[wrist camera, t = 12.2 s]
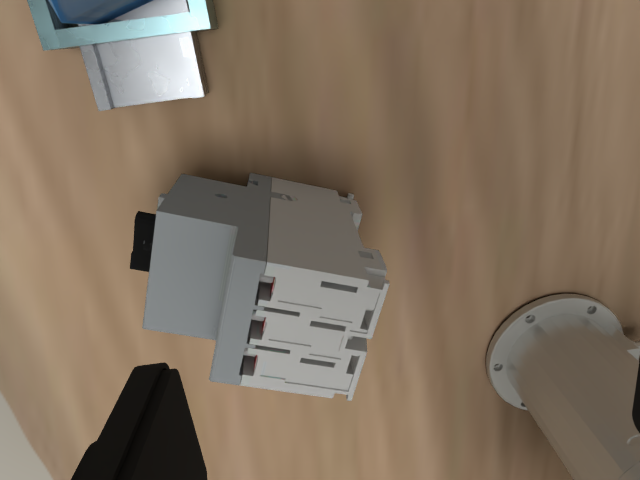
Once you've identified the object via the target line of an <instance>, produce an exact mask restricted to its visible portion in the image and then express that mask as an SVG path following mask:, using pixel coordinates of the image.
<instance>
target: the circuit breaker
mask: <svg viewBox="0 0 640 480" xmlns="http://www.w3.org/2000/svg"><path fill="white" fill-rule="evenodd" d="M271 179H272V180H271ZM353 198H354V194H350V193H348V195H347V198H346V197H342V196H339V195H338V192H337V191H336V190H331V189H326V188H322V187H317V186H312V185H307V184H302V183H298V182H293V181H288V180H283V179H279V178H274V177H269V176H264V175H259V174H254V173H250V176H249V180H248V185H247V186H246V187H245V186H240V185H235V184H230V183H226V182H221V181H216V180H211V179H206V178H201V177H196V176H191V175H186V174H181V176H180V177H179V179H178V180H177V181H176V183H175V184H174V186H173V187H172V189H171V190H170V191H169V193H168V194H163V193H161V195H160V196H159V199H158V208H157V212H156V214H150V213H145V212H140V211H138V213H137V214H136V217H135V226H134V243H133V252H132V253H131V263H130V269H135V270H141V271H147V272H149V278H148V286H147V295H146V303H145V311H144V319H143V329H147V330H154V331H160V332H167V333H173V334H179V335H186V336H192V337H199V338H205V339H212V340H216V346H215V351H214V356H213V362H212V367H211V372H210V378H209V380H210V381H212V382H219V383H226V384H233V385H240V386H248V387H255V388H262V389H269V390H276V391H284V392H291V393H298V394H305V395H312V396H320V397H327V398H333V396H334V393H339V394H346V395H347V400H348V401H351V400H352V397H353V394H354V391H355V388H356V385H357V382H358V379H359V376H360V373H361V370H362V366H363V363H364V360H365V357H366V354H367V342H366V338H368V339H372V336H373V333H374V330H375V327H376V324H377V321H378V318H379V315H380V311H381V308H382V305H383V302H384V299H385V296H386V293H387V290H388V287H389V281H387V280H385V276H386V272H387V268H386V265H385V263H384V261H383V259H382V256H381V254H380V252H379V250H374V249H368V248H364V247H363V244H362V242H361V239H360V237H359V234H358V228H359V224H360V221H361V217H362V212H361V210H360V208H359V205H358V203H357V201H356V200H353ZM240 381H241V383H240Z"/></svg>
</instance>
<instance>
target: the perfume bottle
mask: <svg viewBox="0 0 640 480" xmlns="http://www.w3.org/2000/svg"><path fill="white" fill-rule="evenodd" d="M48 1H49V2H50V4H51V6H52V7H53V9H54V11H55V13H56V14H57V16H58V18H59V20H60V21H61V23H74V24H104V23H106V22H108V21H111V20H113V19H115V18H117V17H119V16H121V15H123V14H125V13H127V12H130V11H132V10H134V9H136V8H138V7H140V6H142V5H144V4H146V3H149V2H151V1H153V0H48Z"/></svg>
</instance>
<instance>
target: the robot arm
mask: <svg viewBox="0 0 640 480" xmlns="http://www.w3.org/2000/svg"><path fill="white" fill-rule="evenodd" d="M639 356H640V341H637V342H634V341H633V340H630V339H628V338H627V337H626V336H625V335H624V334H623V330H622V326H621V324H620V322H619V321H618V319H617V317H616V316H615V315H614V314H613V313H612V312H611V311H610V310H609V309H608V308H607V307H605V306H604V305H603V304H602V303H600V302H599V301H597V300H595V299H593V298H590V297H588V296H583V295H579V294H558V295H551V296H548V297H544V298H541V299H538V300H536V301H534V302H532V303H529V304H527V305H525V306H524V307H522V308H521V309H519V310H518V311H516V312H515V313H513V314H512V315H511V316H510V317H509V318H508V319H507V320H506V321H505V322H504V323H503V324H502V325H501V327H500V328H499V329H498V330H497V332H496V333H495V335H494V337H493V339H492V341H491V343H490V345H489V348H488V352H487V356H486V369H487V375H488V378H489V380H490V382H491V384H492V386H493V387H494V389H495V391H496V392H497V394H498V395H499V396H500V397H501V398H502V399H503V400H504V401H506V402H507V403H509V404H511V405H512V406H514V407H517V408H519V409H522V410H528V411H529V412H530V414H531V415H532V417H533V418H534V420H535V421H536V423H537V425H538V426H539V428H540V429H541V431H542V432H543V434H544V435H545V437H546V438H547V440H548V441H549V443H550V444H551V446H552V447H553V449H554V450H555V452H556V454H557V455H558V457H559V458H560V460H561V461H562V463H563V464H564V466H565V467H566V469H567V470H568V472H569V473H570V475H571V476H572V478H573V479H574V480H640V360H639ZM71 480H207V471H206V467H205V463H204V460H203V456H202V452H201V449H200V445H199V442H198V438H197V435H196V431H195V428H194V424H193V420H192V417H191V413H190V410H189V406H188V403H187V399H186V396H185V392H184V389H183V385H182V381H181V378H180V375H179V372H178V370H177V369H169V366H168V365H167V364H166V363H157V364H150V365H142V366H137V367H135V368H134V369H133V371H132V373H131V375H130V377H129V379H128V381H127V383H126V385H125V387H124V388H123V390H122V392H121V394H120V396H119V398H118V400H117V402H116V404H115V406H114V408H113V410H112V412H111V414H110V416H109V418H108V420H107V422H106V424H105V426H104V428H103V430H102V432H101V434H100V436H99V438H98V440H97V441H95V442H94V443H92V444H91V445H90V446H89V447H88V449H87V450H86V452H85V454H84V456H83V458H82V459H81V461H80V463H79V465H78V467H77V469H76V471H75V473H74V475H73V477H72V479H71Z"/></svg>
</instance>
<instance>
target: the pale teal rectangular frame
mask: <svg viewBox="0 0 640 480" xmlns="http://www.w3.org/2000/svg"><path fill="white" fill-rule="evenodd" d="M27 1H28V4H29V7H30V10H31V14H32V17H33V20H34V23H35V26H36V29H37V32H38V35H39V38H40V41H41V44H42V47H43V50H56V49H69V48H77V47H80V50H81V53H82V56H83V60H84V63H85V66H86V70H87V73H88V76H89V80H90V83H91V86H92V90H93V93H94V97H95V100H96V103H97V107H98V110H99V111H102V110H110V109H113V108H116V107H123V106H130V105H138V104H145V103H153V102H160V101H167V100H175V99H182V98H190V97H192V98H198V97H204V96H206V95H207V94H208V93H209V91H208V86H207V81H206V76H205V72H204V67H203V62H202V57H201V52H200V47H199V42H198V38H197V33H196V32H198V31H205V30H213V29H218V24H217V19H216V13H215V8H214V3H213V0H153V1H151V2H149V3H146V4H144V5H142V6H140V7H138V8H136V9H134V10H132V11H130V12H127V13H125V14H123V15H121V16H119V17H117V18H115V19H113V20H111V21H108V22H106V23H104V24H74V23H61V21H60V20H59V18H58V16H57V14H56V13H55V11H54V9H53V7H52V6H51V4H50V2H49V1H48V0H27Z"/></svg>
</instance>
